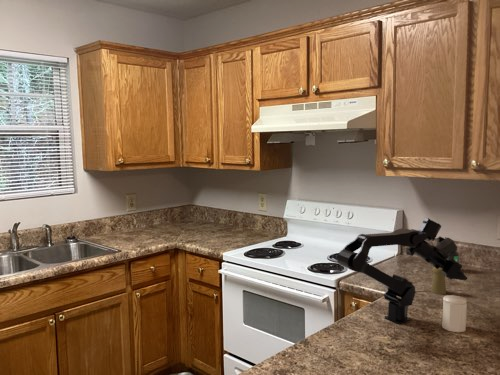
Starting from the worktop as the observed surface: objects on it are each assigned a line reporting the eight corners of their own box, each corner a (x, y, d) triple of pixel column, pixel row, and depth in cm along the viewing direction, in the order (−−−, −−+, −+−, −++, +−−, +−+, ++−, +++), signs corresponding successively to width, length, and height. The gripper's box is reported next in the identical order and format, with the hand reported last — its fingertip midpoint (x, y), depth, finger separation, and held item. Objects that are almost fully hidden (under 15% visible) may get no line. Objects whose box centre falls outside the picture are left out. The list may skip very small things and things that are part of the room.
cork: (433, 288, 190) (434, 263, 189) (448, 291, 186) (449, 265, 185) (428, 292, 185) (429, 266, 184) (443, 295, 181) (445, 269, 180)
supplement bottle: (459, 273, 212) (460, 248, 211) (443, 271, 215) (444, 247, 213) (457, 269, 219) (458, 245, 218) (442, 268, 221) (443, 244, 220)
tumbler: (465, 333, 145) (467, 303, 144) (442, 329, 148) (443, 300, 147) (464, 325, 152) (466, 296, 151) (442, 322, 154) (443, 294, 153)
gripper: (453, 241, 148) (488, 265, 150) (428, 226, 167) (460, 248, 169) (432, 267, 150) (468, 291, 152) (410, 250, 168) (442, 271, 170)
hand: (459, 274), depth 161 cm, fingers open, 9 cm apart
